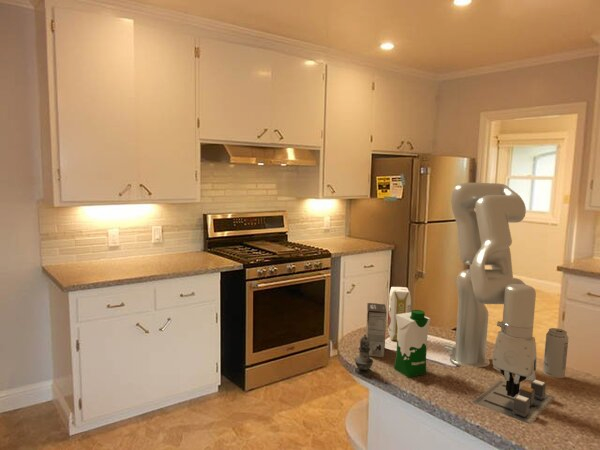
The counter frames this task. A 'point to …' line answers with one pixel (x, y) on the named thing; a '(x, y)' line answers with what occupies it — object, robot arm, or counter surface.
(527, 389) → the block
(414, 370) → the milk carton
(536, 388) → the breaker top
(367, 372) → the grey ornate incense burner
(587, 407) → the counter surface
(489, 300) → the robot arm
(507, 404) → the panel
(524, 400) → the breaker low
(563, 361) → the energy drink can
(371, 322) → the coffee box
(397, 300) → the juice carton
